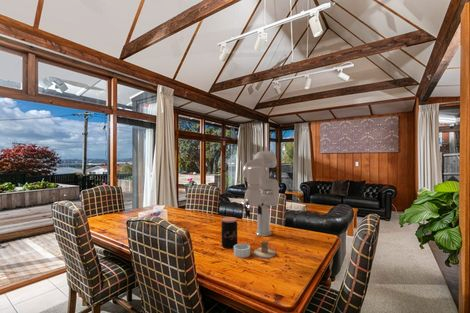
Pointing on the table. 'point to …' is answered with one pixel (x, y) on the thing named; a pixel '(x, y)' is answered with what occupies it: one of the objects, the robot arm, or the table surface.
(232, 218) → the coffee jar
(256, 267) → the table surface
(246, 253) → the bowl
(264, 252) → the lid
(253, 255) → the mat
